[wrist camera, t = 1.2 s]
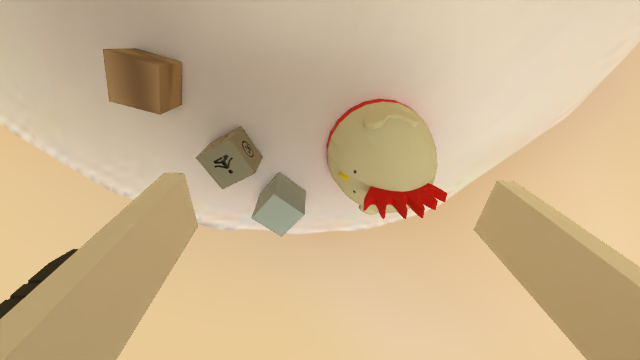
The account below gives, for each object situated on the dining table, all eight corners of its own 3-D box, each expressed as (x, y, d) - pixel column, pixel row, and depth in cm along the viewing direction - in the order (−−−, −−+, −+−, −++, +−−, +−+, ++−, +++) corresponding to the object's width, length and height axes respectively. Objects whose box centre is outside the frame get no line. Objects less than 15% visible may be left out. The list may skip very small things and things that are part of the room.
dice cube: (241, 126, 32) (230, 139, 28) (262, 157, 34) (255, 173, 30) (211, 142, 33) (195, 157, 29) (233, 171, 35) (222, 189, 31)
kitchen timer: (325, 101, 31) (335, 143, 18) (432, 96, 31) (522, 134, 18) (328, 193, 37) (336, 272, 24) (416, 189, 38) (471, 265, 24)
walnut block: (139, 92, 30) (109, 101, 25) (136, 48, 27) (102, 49, 23) (181, 104, 30) (160, 114, 26) (182, 62, 28) (159, 65, 24)
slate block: (260, 193, 37) (251, 218, 32) (279, 172, 35) (273, 194, 30) (285, 210, 39) (281, 236, 34) (305, 190, 37) (304, 214, 32)
